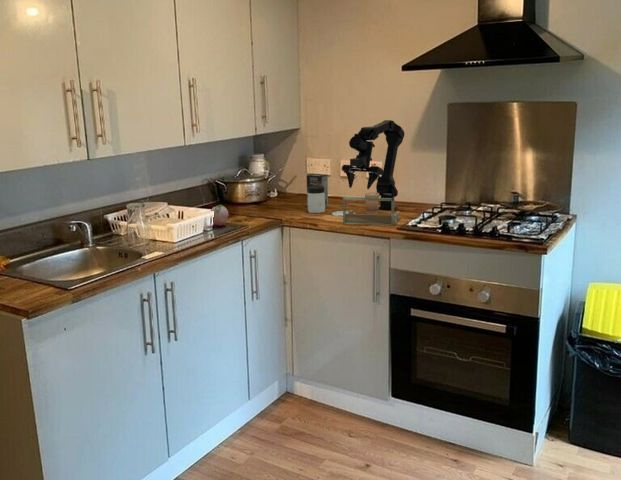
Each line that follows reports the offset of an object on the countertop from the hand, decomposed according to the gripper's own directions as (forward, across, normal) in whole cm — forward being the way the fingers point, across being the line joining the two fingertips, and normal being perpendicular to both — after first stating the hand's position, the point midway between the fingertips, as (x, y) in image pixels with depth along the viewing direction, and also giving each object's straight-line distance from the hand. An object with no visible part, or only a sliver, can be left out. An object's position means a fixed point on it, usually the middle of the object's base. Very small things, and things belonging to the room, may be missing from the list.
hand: (359, 188), depth 286 cm
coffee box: (+8, -33, +19) cm, 39 cm away
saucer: (+11, -10, +8) cm, 17 cm away
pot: (+14, +10, -1) cm, 17 cm away
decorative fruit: (+28, -44, -37) cm, 64 cm away
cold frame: (+14, +10, 0) cm, 18 cm away
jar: (+12, -26, +8) cm, 30 cm away
